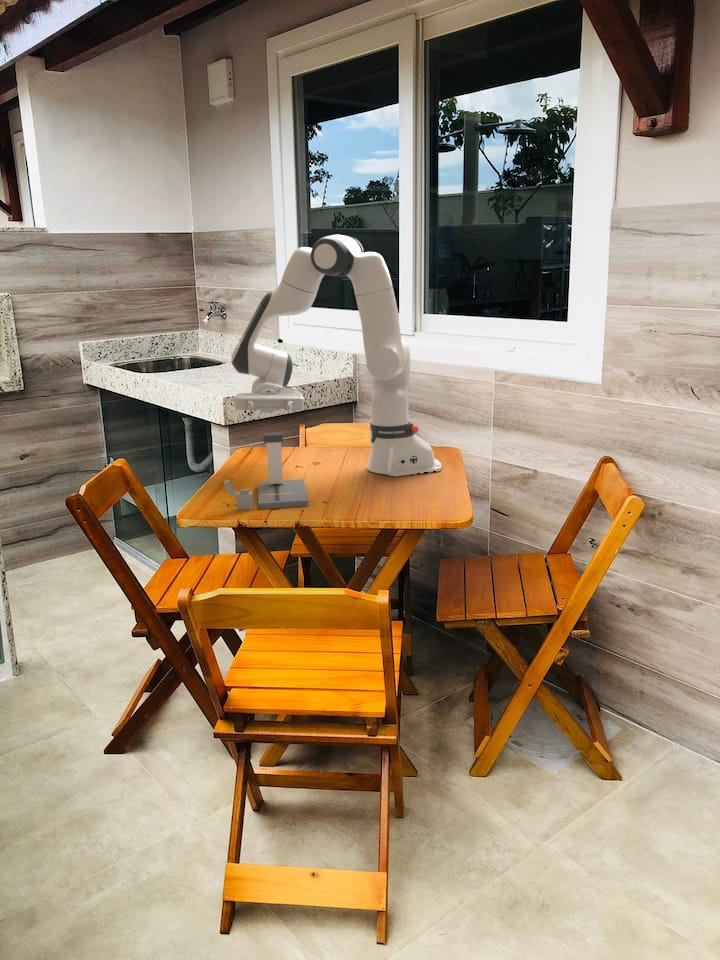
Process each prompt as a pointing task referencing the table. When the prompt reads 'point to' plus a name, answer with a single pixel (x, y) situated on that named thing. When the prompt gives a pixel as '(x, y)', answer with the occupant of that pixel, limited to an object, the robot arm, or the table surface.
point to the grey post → (274, 456)
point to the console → (282, 494)
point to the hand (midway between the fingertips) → (271, 407)
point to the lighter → (240, 496)
